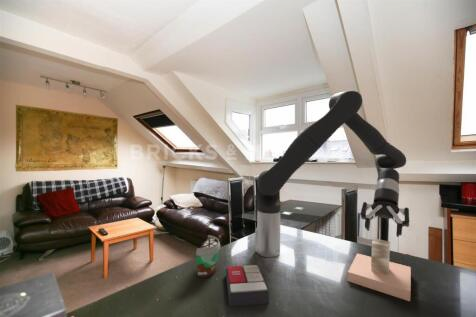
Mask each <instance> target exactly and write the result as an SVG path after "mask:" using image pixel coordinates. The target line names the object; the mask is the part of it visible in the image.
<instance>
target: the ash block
mask: <svg viewBox="0 0 476 317" xmlns="http://www.w3.org/2000/svg"><path fill="white" fill-rule="evenodd" d="M390 247H391V241H389V240H384V239H379V238H373V239H372V242H371V256H370V257H371V270H373V271H377V272H380V273H384V274H387V275H388V272H389V262H390V250H391V248H390Z"/></svg>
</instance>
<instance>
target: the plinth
mask: <svg viewBox="0 0 476 317" xmlns="http://www.w3.org/2000/svg"><path fill="white" fill-rule="evenodd" d="M411 271H412V267H411V266H407V265H403V264H400V263H396V262H393V261H389V272H388V275H387V274H384V273H380V272H377V271H373V270H371V256H369V255H365V254H361V253H356V255H355V257H354V259H353V261H352V262H351V264H350V266H349V269H348V271H347V282H350V283H353V284H355V285H359V286H362V287H363V288H368V289H371V290H374V291H378V292H381V293H383V294H386V295H388V296H393V297H396V298H398V299H401V300H405V301H407V302H411V291H412V290H411V289H412V288H411V287H412V284H411V282H412V281H411V280H412V279H411V278H412V277H411V276H412V275H411Z"/></svg>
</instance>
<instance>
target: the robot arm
mask: <svg viewBox="0 0 476 317" xmlns="http://www.w3.org/2000/svg"><path fill="white" fill-rule="evenodd" d="M362 105H363V97H362V95H361V93H359V92H358V91H356V90H344V91H342V92H341V91H340V92H338V93H335V94H333V95H332V96H331V97H330V98H329V102H328V107H329V110H328V111H327V112H326V113H325V114H324V115H323V116H322V117H321V118H319V119H318V120H316V121H314V122H313V123H311V124H310V125H309V126H307V127H305V129H303V130H302V131H301V132H300V133H299V135H298V136H297V137H296V138H294V139H293V141H292V142H291V143H290V144H289V146H288V147H287V149H286V151H284V153H283V154H282V156H281V158H280V159H279V160H278V161H277V162H276V163H275V164H274V165H273V166H272V167H271V168H269V169H267V170H264V171H262V172H260V173H259V175H258V177H257V183H256V184H257V185H256V187H257V192H256V193H257V194H256V200H257V202H256V203H257V204H256V205H257V206H256V207H257V211H256V212H257V216H256V217H257V219H256V220H257V221H256V222H257V225H256V226H257V227H256V228H255V229H254V230H255V232H254V233H255V234H254V249H255V250H254V252H255V253H257V254H258V255H259V256H261V257H265V258H275V257H278V256H280V254H281V208H282V207H281V198H280V197H281V194H280V193H281V192H280V191H281V190H282V189H283V187H284V186H285V184H286V183H287V182H288V180H289V179H290V178H291V177H292V176H293V175H294V173H296V171H298V170H299V169H300V168H301V167H302V166H303V165H305V163H307V162H308V161H309V159H311V158H312V157H314V155H315V154H316V153H317V152H318V151H319V149H321V147H322V146H324V144H325V143H326V142H327V141H328V140H329V139H330V138H331V137H332V136H333V135H334V134H335V132H336V131H337V130H338V129H340V127H342V125H346V126H347V127H348V128H349V129H350V130H351V131H352V132H353V133H354V134H355V135H356V136H357V137H358V139H359V140H360V141H361V142H362V143H363V145H364V146H365V147H366V148H367V150H368V151H369V152H370V153H371V154H372V155H376V156H377V157H376V158H375V159H374V162H375V167H376V171H377V178H376V184H375V189H374V196H373V203H372V204H370V203H367V201H363V202H362V206H361V210H360V218H361V219H362V220H365V221H364V228H365V229H366V231H368V232H369V231H370V228H371V221H372V220H374V219H376V218H377V217H378V218H379V219H387V220H390V219H391V220H392V221H393V222H394V223H395V224H396V234H395V235H396V237H398V238H399V237H400V236H402V234H403V228H404V227H405V228H408V227H410V208H409V207H404V208H402V207H401V208H399V197H400V186H399V184H400V172H399V171H398V170H396V169H400V168H403V167H404V166H406V164H407V157H406V156H405V154H404V153H403V152H402V151H401V150H400V149H398V148H397V147H395V146H394V145H392V144H391V143H390V142H388V141H387V139H386V138H385V137H384V136H383V134H382V133H381V132H380V131H379V130H378V129H377V128H376V127H374V126H373V125H372V124H371V123H369V121H367V120H365V119H364V118H363V117H362V116H361V115H360V114H359V113H358V112H359V110H360V109H361V107H362ZM370 209H371V211H369V210H370ZM367 211H369V213H367ZM399 213H401V215H402V216H404V220H401V218H400V217H399V215H398V214H399Z"/></svg>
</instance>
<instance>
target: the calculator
mask: <svg viewBox="0 0 476 317" xmlns="http://www.w3.org/2000/svg"><path fill="white" fill-rule="evenodd" d="M225 280H226V286H227V295H228V305H229V307H237V306H248V305H249V306H251V305H263V304H269V303H270V290H269V287H268V285H267V283H266V281H265V279H264V275H263V273H262V271H261V269H260V268H259V265H258V264H252V265H250V264H249V265H243V266H242V265H232V266H227V267H226V269H225ZM236 305H237V306H236Z"/></svg>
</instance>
